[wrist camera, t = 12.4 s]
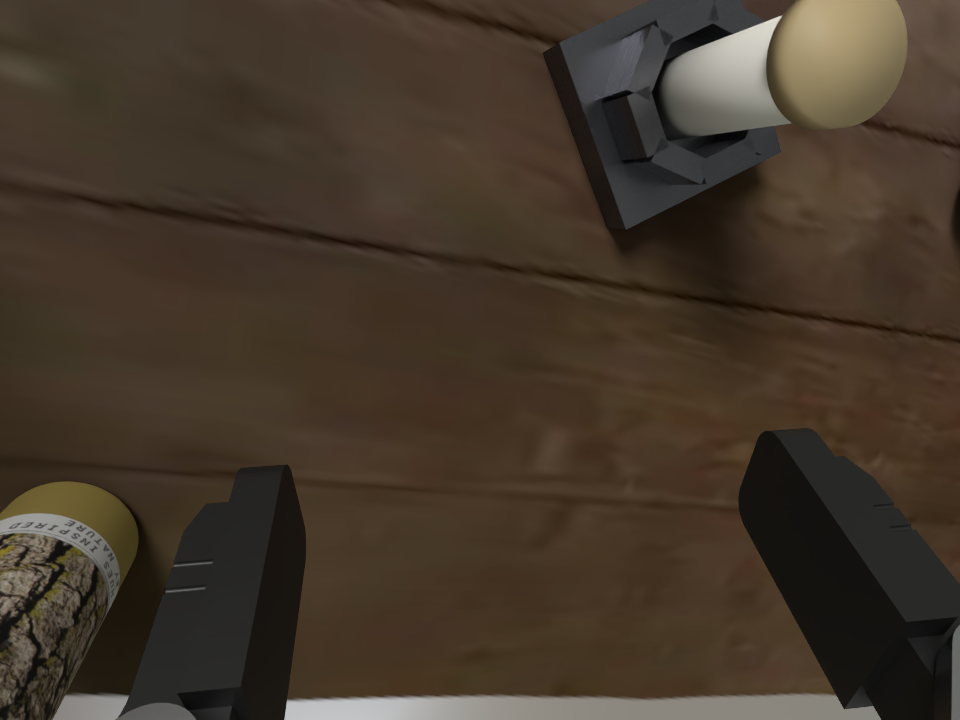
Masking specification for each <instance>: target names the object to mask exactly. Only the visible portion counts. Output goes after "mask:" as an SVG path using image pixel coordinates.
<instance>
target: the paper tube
mask: <svg viewBox="0 0 960 720" xmlns="http://www.w3.org/2000/svg"><path fill="white" fill-rule="evenodd" d="M138 541H139V537H138V529H137V525H136V522H135V520H134V518H133V516H132V514H131V512H130V511H129V510H128V508H127V507H126V506H125V505H124V504H123V503H122V502H121V501H120V500H119V499H118V498H117V497H115V496H114V495H112V494H111V493H109V492H107V491H105V490H103V489H101V488H99V487H96V486H93V485H90V484H86V483H80V482H70V481H64V482H53V483H48V484H44V485H41V486H38V487H35V488H33V489H31V490H29V491H27V492H25V493H23V494H22V495H20V496H19V497H17V498H16V499H15V500H14V501H12V502H11V503H10V504H9V505H8V506H7V507H6V508H5V509H4V510H3V511H2V512H1V513H0V720H52V719H53V717H54V716H55V714H56V712H57V710H58V708H59V706H60V704H61V702H62V700H63V698H64V696H65V694H66V692H67V690H68V688H69V687H70V685H71V683H72V681H73V679H74V677H75V675H76V673H77V671H78V669H79V667H80V665H81V663H82V661H83V659H84V657H85V655H86V654H87V652H88V650H89V648H90V646H91V644H92V642H93V640H94V638H95V636H96V634H97V632H98V630H99V628H100V626H101V624H102V622H103V621H104V619H105V617H106V615H107V613H108V611H109V609H110V607H111V605H112V603H113V601H114V599H115V597H116V595H117V592H118V590H119V588H120V586H121V585H122V583H123V581H124V579H125V577H126V575H127V573H128V571H129V569H130V567H131V565H132V563H133V561H134V559H135V556H136V553H137V549H138Z"/></svg>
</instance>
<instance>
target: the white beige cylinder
mask: <svg viewBox="0 0 960 720" xmlns="http://www.w3.org/2000/svg"><path fill="white" fill-rule="evenodd" d="M906 56H907V30H906V24H905V20H904V17H903V14H902V11H901V9H900V7H899V5H898V3H897V1H896V0H796V1H795V2H794V3H793V4H792V5H791V6H790V7H789V8H788V9H787V10H786V11H785V13H784V14H783V15H782V16H779V17H777V18H774V19H771V20H769V21H766V22H764V23H761V24H758V25H756V26H753V27H750V28H748V29H745V30H743V31H740V32H737V33H735V34H732V35H729V36H727V37H724V38H722V39H719V40H716V41H714V42H711V43H708V44H706V45H703V46H701V47H698V48H695V49H693V50H690V51H688V52H685V53H682V54H680V55H677V56H674V57H672V58H669V59H667V60H664V62H663V65H662V67H661V70H660V72H659V75H658V77H657V80H656V83H655V85H654V88H653V90H652V96H653V99H654V102H655V105H656V108H657V112H658V115H659V118H660V121H661V124H662V127H663V130H664V134H665V137H666V140H678V139H685V138H692V137H699V136H706V135H713V134H720V133H727V132H734V131H741V130H748V129H755V128H762V127H769V126H776V125H783V124H790V123H793V124H794V125H796V126H798V127H801V128H803V129H808V130H826V129H835V128H843V127H850V126H854V125H857V124H860V123H862V122H864V121H866V120H867V119H869V118H871V117H872V116H873V115H875V114H876V113H877V112H878V111H879V110H880V109H881V108H882V107H883V106H884V105H885V104H886V103H887V101H888V100H889V99H890V97H891V96H892V94H893V93H894V91H895V89H896V87H897V85H898V83H899V81H900V78H901V76H902V73H903V70H904V66H905V61H906Z"/></svg>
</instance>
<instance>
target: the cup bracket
mask: <svg viewBox="0 0 960 720" xmlns="http://www.w3.org/2000/svg"><path fill="white" fill-rule="evenodd" d="M764 22H766V21H765V20H763V19H761V18H760V17H758V16H756V15H754V14H752V13H751V12H749V11H747V10H745V9H744V8H743V4H742V0H650V1H648V2H646V3H644V4H642V5H639V6H637V7H635V8H633V9H631V10H629V11H627V12H624V13H622V14H620V15H618V16H616V17H614V18H611V19H609V20H607V21H605V22H603V23H601V24H599V25H596V26H594V27H592V28H590V29H588V30H586V31H583V32H581V33H579V34H577V35H575V36H573V37H571V38H568V39H566V40H564V41H562V42H560V43H558V44H556V45H555V46H553V47H552V48H550V49H549V50H547V51H545V52H544V53H543V54H544V57H545V60H546V62H547V65H548V68H549V70H550V73H551V76H552V79H553V81H554V84H555V87H556V90H557V92H558V95H559V98H560V100H561V103H562V106H563V109H564V111H565V114H566V117H567V120H568V122H569V125H570V128H571V130H572V133H573V136H574V139H575V141H576V144H577V147H578V150H579V152H580V155H581V158H582V160H583V163H584V166H585V169H586V171H587V174H588V177H589V180H590V182H591V185H592V188H593V190H594V193H595V196H596V199H597V201H598V204H599V207H600V210H601V212H602V215H603V218H604V220H605V223H606V226H607V227H609V228H617V229H624V230H626V229H628V228H630V227H632V226H634V225H636V224H638V223H640V222H642V221H644V220H646V219H648V218H650V217H652V216H654V215H656V214H658V213H660V212H662V211H664V210H666V209H668V208H670V207H672V206H674V205H676V204H678V203H680V202H682V201H684V200H686V199H688V198H690V197H692V196H694V195H696V194H698V193H700V192H702V191H704V190H706V189H708V188H710V187H712V186H714V185H716V184H718V183H720V182H722V181H724V180H726V179H728V178H730V177H732V176H734V175H736V174H738V173H740V172H742V171H744V170H746V169H748V168H750V167H752V166H754V165H756V164H758V163H760V162H762V161H764V160H766V159H768V158H770V157H772V156H774V155H776V154H778V153H780V152H781V150H780V146H779V142H778V139H777V135H776V131H775V127H774V126H769V127H762V128H755V129H748V130H741V131H734V132H727V133H720V134H713V135H706V136H699V137H692V138H685V139H678V140H666V137H665V134H664V130H663V127H662V124H661V121H660V118H659V115H658V112H657V108H656V105H655V102H654V99H653V96H652V90H653V88H654V85H655V83H656V80H657V77H658V75H659V72H660V70H661V67H662V65H663V62H664V60H667V59H669V58H672V57H674V56H677V55H680V54H682V53H685V52H688V51H690V50H693V49H695V48H698V47H701V46H703V45H706V44H708V43H711V42H714V41H716V40H719V39H722V38H724V37H727V36H729V35H732V34H735V33H737V32H740V31H743V30H745V29H748V28H750V27H753V26H756V25H758V24H761V23H764Z"/></svg>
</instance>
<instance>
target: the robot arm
mask: <svg viewBox="0 0 960 720" xmlns="http://www.w3.org/2000/svg"><path fill="white" fill-rule="evenodd" d="M739 511H740V515H741V519H742V521H743V524H744V526H745V528H746V530H747V532H748V534H749V535H750V537H751V539H752V541H753V543H754V545H755V546H756V548H757V550H758V552H759V554H760V556H761V557H762V559H763V561H764V563H765V565H766V567H767V568H768V570H769V572H770V574H771V576H772V578H773V579H774V581H775V583H776V585H777V587H778V589H779V590H780V592H781V594H782V596H783V598H784V600H785V601H786V603H787V605H788V607H789V609H790V611H791V613H792V614H793V616H794V618H795V620H796V622H797V624H798V625H799V627H800V629H801V631H802V633H803V635H804V636H805V638H806V640H807V642H808V644H809V646H810V647H811V649H812V651H813V653H814V655H815V657H816V658H817V660H818V662H819V664H820V666H821V668H822V669H823V671H824V673H825V675H826V677H827V679H828V680H829V682H830V684H831V686H832V688H833V690H834V691H835V693H836V695H837V697H838V699H839V701H840V702H841V704H842V706H843V708H844V709H849V708H859V707H867V706H874V708H875V709H876V711H877V713H878V715H879V716H880V718H881V720H960V584H959V583H958V582H957V581H956V579H955V578H954V577H953V576H952V574H951V573H950V572H949V571H948V569H947V568H946V567H945V566H944V564H943V563H942V562H941V561H940V560H939V558H938V557H937V556H936V555H935V553H934V552H933V551H932V550H931V548H930V547H929V546H928V545H927V543H926V542H925V541H924V540H923V538H922V537H921V536H920V535H919V534H918V532H917V531H916V530H912V529H911V524H910V522H909V521H908V520H907V519H906V517H905V516H904V515H903V514H902V512H901V511H900V510H899V509H898V508H897V509H895V507H894V503H893V501H892V500H891V499H890V498H889V496H888V495H887V494H886V493H885V491H884V490H883V489H882V488H881V486H880V485H879V484H878V483H877V481H876V480H875V479H874V478H873V477H872V476H871V475H869V474H868V473H866V472H865V471H864V470H862V469H861V468H860V467H858V466H857V465H855V464H854V463H853V462H851V461H850V460H849V459H847V458H846V457H844V456H838V457H835V456H834V454H833V453H832V452H831V450H830V449H829V448H828V447H827V445H826V444H825V443H824V441H823V440H822V439H821V438H820V436H819V435H818V434H817V433H816V432H815V431H814V430H812V429H809V428H802V429H788V430H775V431H765V432H763V433H762V434H761V435H760V436H759V438H758V440H757V443H756V445H755V448H754V451H753V454H752V457H751V459H750V462H749V465H748V468H747V471H746V473H745V476H744V479H743V482H742V485H741V487H740V491H739ZM305 560H306V534H305V526H304V521H303V517H302V513H301V509H300V505H299V501H298V497H297V493H296V489H295V485H294V481H293V477H292V473H291V470H290V467H289V466H288V465H276V466H262V467H248V468H240V469H239V471H238V472H237V474H236V478H235V481H234V485H233V489H232V492H231V496H230V500H229V502H223V503H210V504H206V505H205V506H204V507H203V508H202V509H201V511H200V512H199V513H198V514H197V516H196V517H195V518H194V519H193V521H192V522H191V523H190V524H189V526H188V527H187V528H186V529H185V530H184V532H183V535H182V538H181V541H180V544H179V547H178V550H177V553H176V556H175V559H174V568H172V569H171V572H170V575H169V578H168V581H167V584H166V587H165V590H166V592H165V595H163V596H162V599H161V602H160V605H159V608H158V611H157V614H156V617H155V620H154V623H153V626H152V629H151V633H150V636H149V639H148V642H147V645H146V648H145V651H144V654H143V657H142V660H141V663H140V666H139V669H138V672H137V675H136V678H135V681H134V684H133V687H132V690H131V693H130V696H129V698H128V701H127V703H126V705H125V707H124V708H123V710H122V712H121V714H120V715H119V717H118V718H117V719H116V720H284V717H285V710H286V702H287V695H288V688H289V680H290V673H291V665H292V658H293V650H294V643H295V635H296V628H297V620H298V613H299V605H300V598H301V590H302V583H303V576H304V568H305Z"/></svg>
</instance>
